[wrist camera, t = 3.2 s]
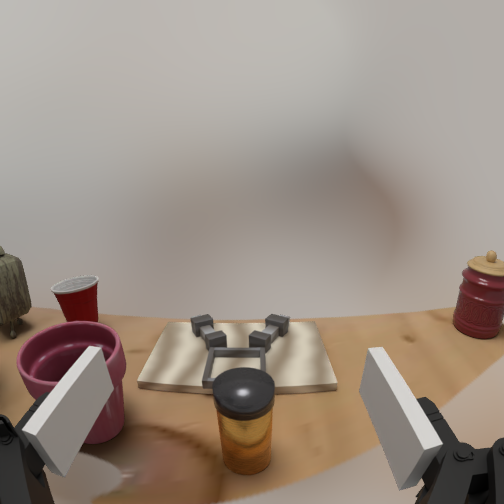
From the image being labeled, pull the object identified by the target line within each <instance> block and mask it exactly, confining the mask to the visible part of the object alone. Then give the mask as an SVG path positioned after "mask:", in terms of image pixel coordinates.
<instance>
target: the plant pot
mask: <svg viewBox="0 0 504 504" xmlns="http://www.w3.org/2000/svg"><path fill="white" fill-rule="evenodd" d="M89 346H94V347H101V348H102V352H103V355H104V359H105V362H106V365H107V369H108V372H109V375H110V378H111V381H112V384H113V387H114V390H113V391H112V393H111V395H110V396H109V398H108V400H107V402H106V403H105V405H104V407H103V409H102V410H101V412H100V414H99V416H98V417H97V419H96V421H95V423H94V424H93V426H92V428H91V430H90V432H89V433H88V435H87V437H86V439H85V441H84V442H83V443H87V444H98V443H103V442H106V441H108V440H110V439H112V438H113V437H115V436H116V435H117V434H118V433H119V432H120V431H121V429H122V427H123V425H124V402H123V387H122V379H123V377H124V374H125V371H126V360H125V356H124V352H123V348H122V344H121V341H120V338H119V336H118V334H117V333H116V331H115V330H113V329H112V328H110V327H109V326H107V325H104V324H101V323H97V322H90V321H73V322H66V323H61V324H58V325H54V326H51V327H49V328H46V329H44V330H42V331H40V332H38V333H36V334H35V335H33V336H32V337H31V338H29V339H28V340H27V341H26V342H25V343H24V344H23V346H22V347H21V349H20V350H19V352H18V355H17V367H18V370H19V372H20V375H21V377H22V379H23V381H24V384H25V386H26V388H27V390H28V391H29V393H30V394H31V396H32V397H33V398H34V399H35V400H37V399H38V397H40V396H41V395H43V394H44V393H46V392H50V393H51V391H52V390H53V389H54V388H55V386H56V385H57V384H58V383H59V381H60V380H61V379H62V378H63V376H64V375H65V374H66V373H67V372H68V370H69V369H70V368H71V367H72V366H73V364H74V363H75V362H76V361H77V360H78V358H79V357H80V356H81V355H82V354H83V353H84V351H85V350H86V349H87V348H88V347H89Z"/></svg>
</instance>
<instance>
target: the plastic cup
mask: <svg viewBox="0 0 504 504" xmlns="http://www.w3.org/2000/svg"><path fill="white" fill-rule="evenodd" d="M97 283H98V277H97V276H91V275H87V276H79V277H74V278H70V279H67V280H64V281H61V282H59V283H57V284H55V285H54V286H52V288H51V291H52V292H53V293H54V295H55V296H56V298H57V300H58V302H59V304H60V306H61V309H62V311H63V314H64V316H65V318H66V320H67V322H73V321H90V322H97V323H98V307H97Z"/></svg>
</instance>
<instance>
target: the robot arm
mask: <svg viewBox="0 0 504 504" xmlns="http://www.w3.org/2000/svg"><path fill="white" fill-rule="evenodd" d="M113 390H114V387H113V384H112V381H111V378H110V375H109V372H108V369H107V365H106V362H105V359H104V355H103V352H102V348H101V347H94V346H89V347H88V348H87V349H86V350H85V351H84V353H83V354H82V355H81V356H80V357H79V358H78V360H77V361H76V362H75V363H74V364H73V366H72V367H71V368H70V369H69V370H68V372H67V373H66V374H65V375H64V376H63V378H62V379H61V380H60V381H59V383H58V384H57V385H56V386H55V388H54V389H53V390H52V391H51V393H50V392H46V393H44V394H43V395H41V396H40V397H38V399H37V400H36V401H35V402H34V404H33V405H32V406H31V407H30V409H29V411H27V412H26V414H25V415H24V416H23V417H22V419H21V420H20V421H19V422H18V424H17V425H16V426H15V428H14V427H13V425H12V424H11V422H10V420H9V419H8V418H7V417H6V416H5V415H2V414H0V504H54V501H53V498H52V495H51V492H50V488H49V485H48V481H47V478H46V474H45V472H44V470H43V467H44V465H45V464H46V466H47V467H48V469H49V470H50V471H51V472H52V473H55V474H57V475H60V476H63V477H65V476H66V474H67V472H68V470H69V468H70V467H71V464H72V463H73V461H74V459H75V457H76V455H77V453H78V452H79V450H80V448H81V446H82V444H83V442H84V441H85V439H86V437H87V435H88V433H89V432H90V430H91V428H92V426H93V424H94V423H95V421H96V419H97V417H98V416H99V414H100V412H101V410H102V409H103V407H104V405H105V403H106V402H107V400H108V398H109V396H110V395H111V393H112V391H113ZM359 392H360V395H361V397H362V399H363V402H364V404H365V406H366V409H367V411H368V413H369V416H370V418H371V421H372V423H373V425H374V428H375V430H376V433H377V435H378V438H379V440H380V443H381V445H382V447H383V450H384V452H385V455H386V457H387V460H388V463H389V465H390V468H391V470H392V473H393V475H394V478H395V481H396V483H397V486H398V488H399V490H403V489H406V488H410V487H413V486H416V485H417V484H418V482H419V480H420V479H421V478H422V479H423V481H424V484H425V485H424V486H423V487H422V489H421V490H420V491H419V493H418V494H417V495H416V497H418V498H417V500H416V502H415V504H504V438H500V439H498V440H497V441H496V442H495V443H494V445H493V446H492V447H491V448H483V449H474V448H473V447H472V446H471V445H469V444H467V443H460V442H459V441H458V439H457V438H456V436H455V434H454V433H453V431H452V430H451V428H450V427H449V425H448V424H447V422H446V420H445V419H443V416H442V415H441V413H439V410H438V408H437V407H436V405H435V404H434V403H433V402H432V401H430V400H429V399H428V398H426V397H423V398H418V399H416V398H415V397H414V395H413V393H412V392H411V390H410V389H409V387H408V386H407V384H406V382H405V381H404V379H403V378H402V376H401V375H400V373H399V371H398V370H397V368H396V367H395V365H394V364H393V362H392V361H391V359H390V358H389V356H388V355H387V353H386V352H385V350H384V349H383V347H376V348H368V351H367V356H366V362H365V366H364V371H363V376H362V381H361V385H360V389H359Z"/></svg>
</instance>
